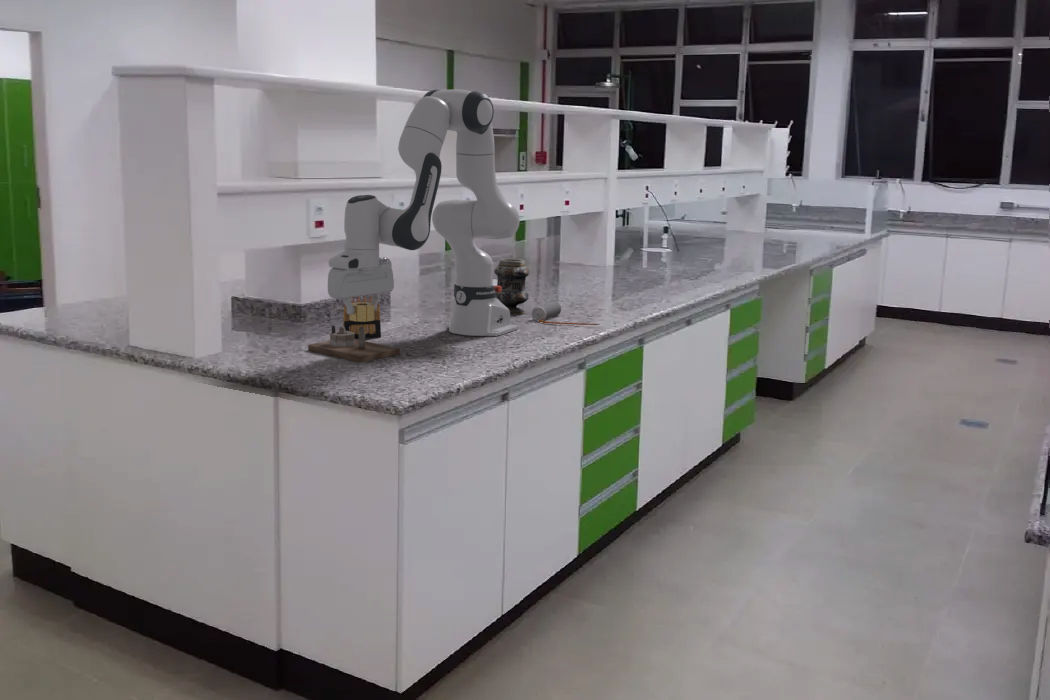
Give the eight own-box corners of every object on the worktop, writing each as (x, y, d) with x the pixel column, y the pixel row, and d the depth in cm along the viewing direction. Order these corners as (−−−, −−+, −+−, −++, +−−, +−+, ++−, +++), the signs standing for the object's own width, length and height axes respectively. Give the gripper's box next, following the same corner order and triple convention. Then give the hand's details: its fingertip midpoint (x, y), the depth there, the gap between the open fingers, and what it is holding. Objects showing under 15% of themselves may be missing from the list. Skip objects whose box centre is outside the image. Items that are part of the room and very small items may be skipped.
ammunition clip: (343, 338, 265) (343, 296, 263) (342, 337, 267) (342, 295, 264) (381, 337, 269) (381, 296, 266) (379, 336, 270) (379, 295, 268)
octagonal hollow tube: (362, 316, 249) (362, 301, 248) (379, 319, 245) (379, 304, 244) (344, 319, 244) (344, 304, 243) (361, 322, 240) (361, 307, 240)
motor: (525, 321, 302) (527, 306, 301) (552, 311, 322) (554, 297, 320) (591, 341, 294) (594, 326, 292) (614, 330, 313) (618, 316, 312)
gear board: (347, 342, 260) (347, 316, 258) (399, 354, 248) (400, 327, 246) (308, 350, 249) (307, 323, 247) (360, 362, 237) (360, 334, 235)
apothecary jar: (531, 310, 323) (533, 258, 319) (523, 316, 311) (525, 262, 307) (497, 308, 325) (499, 256, 321) (488, 313, 314) (489, 260, 310)
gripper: (382, 255, 251) (382, 306, 254) (323, 260, 235) (324, 315, 238) (399, 257, 248) (399, 309, 251) (340, 263, 232) (340, 318, 235)
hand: (361, 312), depth 244 cm, fingers closed on octagonal hollow tube, 6 cm apart
